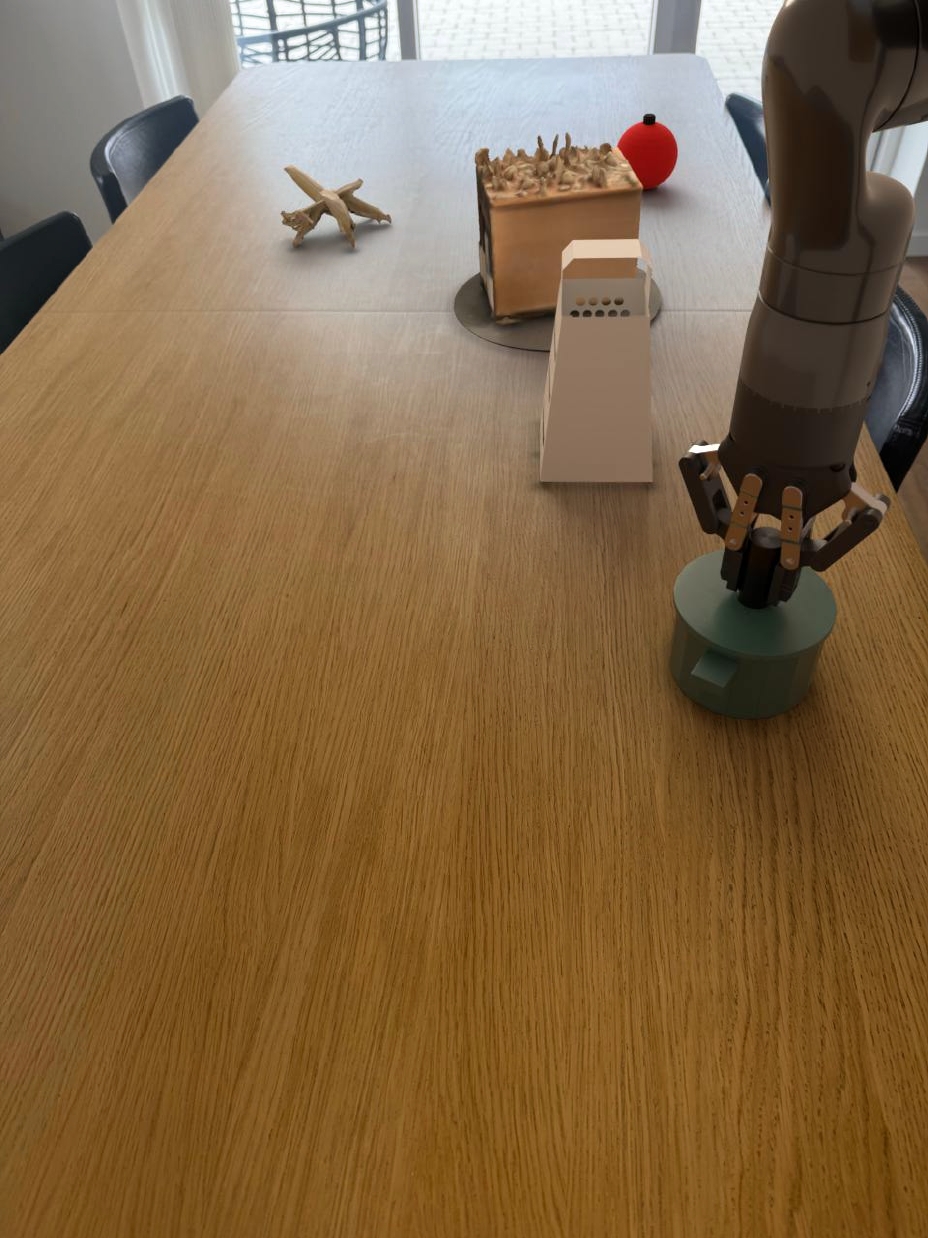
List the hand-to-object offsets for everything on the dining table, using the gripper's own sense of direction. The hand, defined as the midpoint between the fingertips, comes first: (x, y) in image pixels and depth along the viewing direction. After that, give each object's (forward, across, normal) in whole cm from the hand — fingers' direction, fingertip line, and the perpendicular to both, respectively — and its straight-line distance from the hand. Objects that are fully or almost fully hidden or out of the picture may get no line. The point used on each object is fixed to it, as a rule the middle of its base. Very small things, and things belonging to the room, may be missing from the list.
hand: (756, 590), depth 68 cm
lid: (+1, 0, 0) cm, 1 cm away
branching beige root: (+8, -80, +49) cm, 94 cm away
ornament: (+8, -49, +85) cm, 98 cm away
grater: (+8, -23, +20) cm, 32 cm away
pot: (+8, 0, 0) cm, 8 cm away
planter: (+8, -42, +46) cm, 63 cm away
